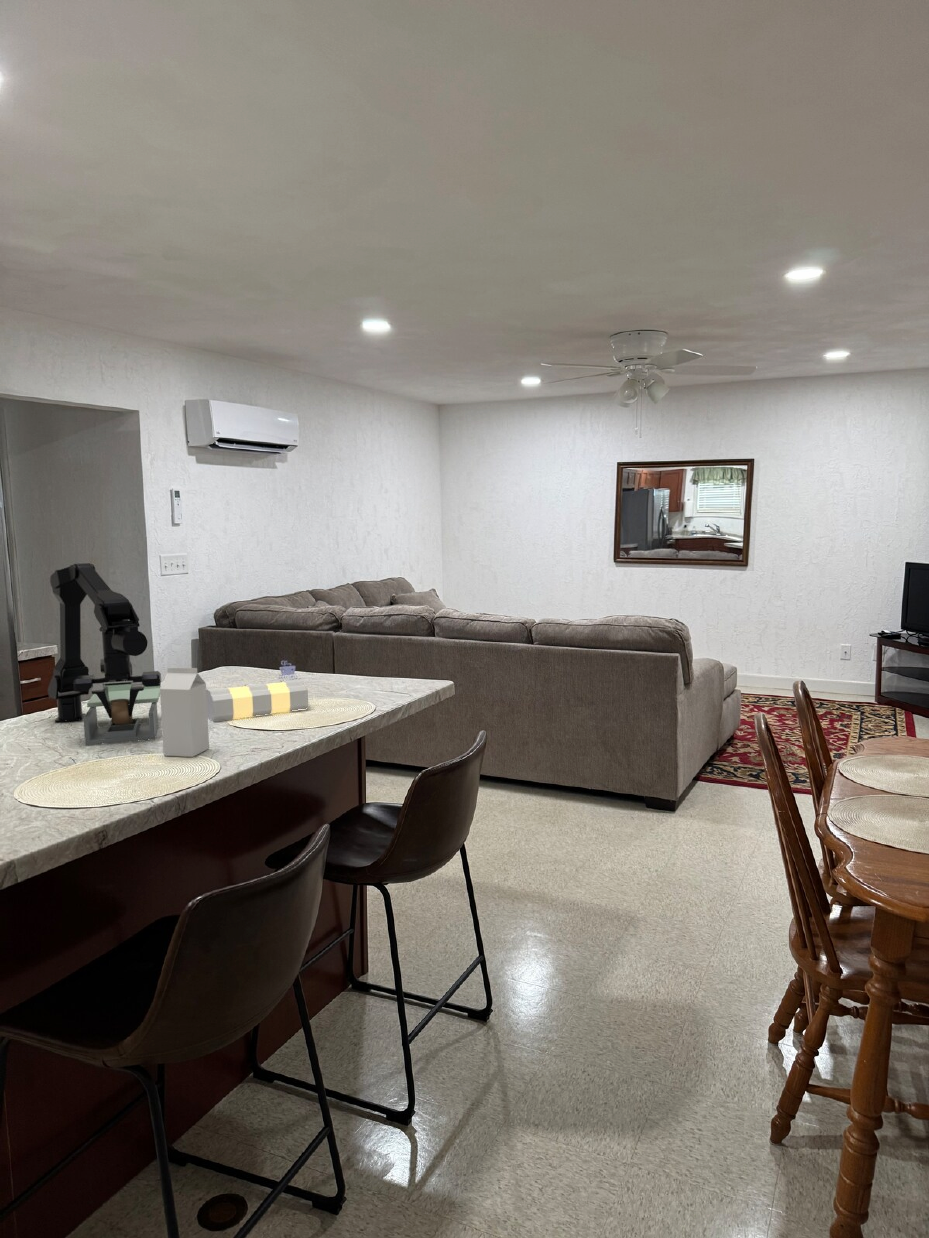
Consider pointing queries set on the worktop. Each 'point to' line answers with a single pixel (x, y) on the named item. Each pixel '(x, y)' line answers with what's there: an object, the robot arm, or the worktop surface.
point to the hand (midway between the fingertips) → (120, 716)
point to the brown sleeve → (120, 710)
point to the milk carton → (184, 713)
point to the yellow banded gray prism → (257, 698)
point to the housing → (119, 728)
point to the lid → (127, 695)
